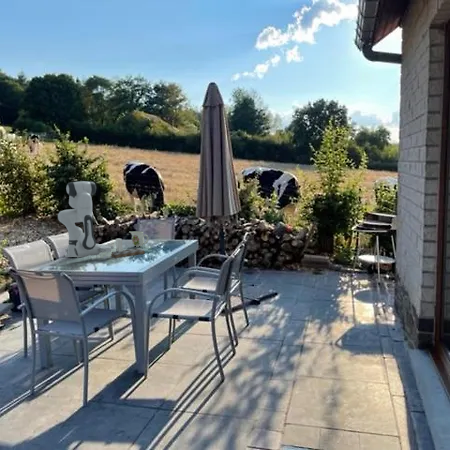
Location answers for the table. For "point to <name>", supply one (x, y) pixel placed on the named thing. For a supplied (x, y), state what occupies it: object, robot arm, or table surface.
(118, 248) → the fader tab
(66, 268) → the table surface
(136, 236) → the pitcher
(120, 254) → the fader track
